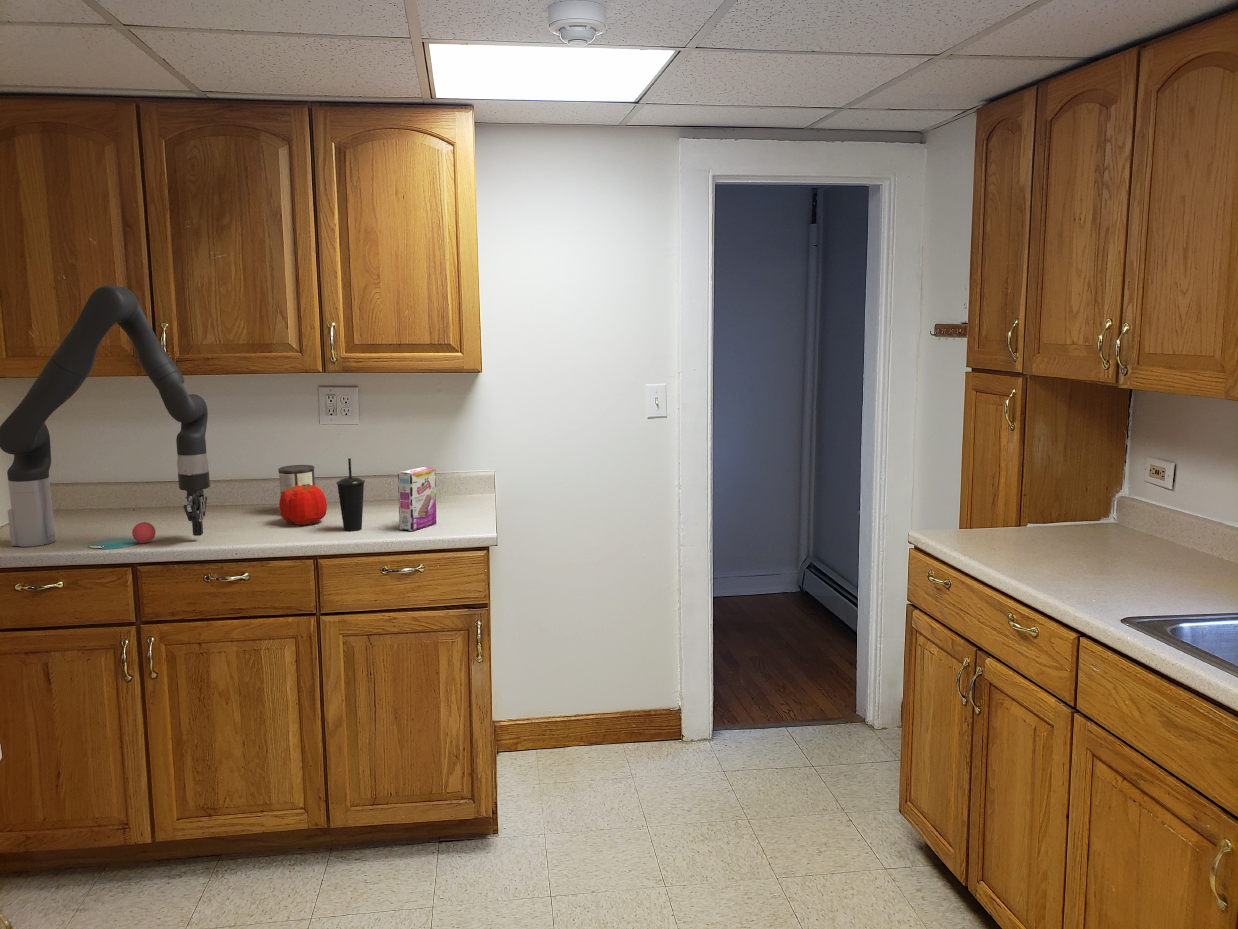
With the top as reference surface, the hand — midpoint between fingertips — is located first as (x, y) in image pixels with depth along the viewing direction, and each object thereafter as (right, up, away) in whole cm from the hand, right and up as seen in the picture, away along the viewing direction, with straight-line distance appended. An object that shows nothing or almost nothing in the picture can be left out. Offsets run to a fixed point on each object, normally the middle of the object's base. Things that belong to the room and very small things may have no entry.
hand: (198, 535), depth 252 cm
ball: (-13, +1, -2) cm, 13 cm away
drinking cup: (+38, 0, +13) cm, 40 cm away
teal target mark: (-21, -2, -3) cm, 21 cm away
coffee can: (+15, +4, +34) cm, 38 cm away
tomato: (+21, +2, +21) cm, 30 cm away
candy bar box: (+55, +1, +15) cm, 57 cm away
